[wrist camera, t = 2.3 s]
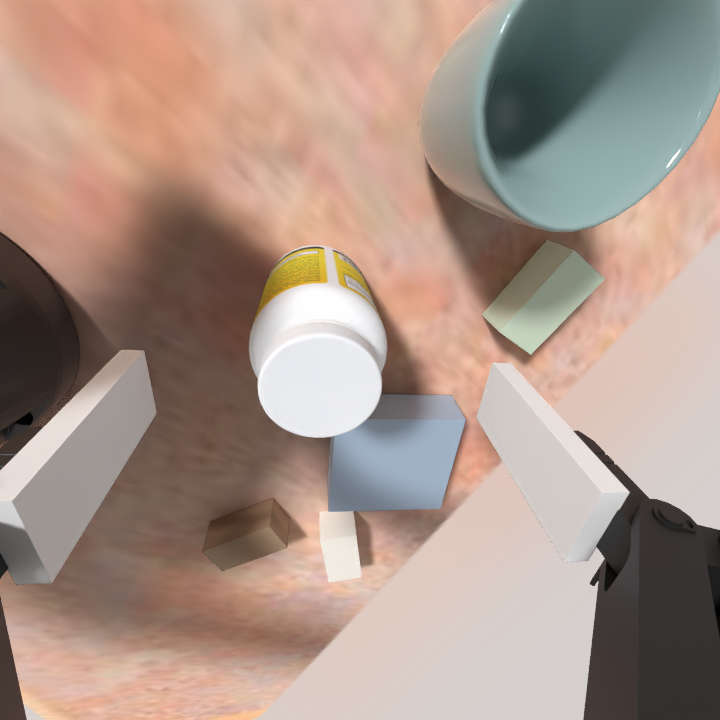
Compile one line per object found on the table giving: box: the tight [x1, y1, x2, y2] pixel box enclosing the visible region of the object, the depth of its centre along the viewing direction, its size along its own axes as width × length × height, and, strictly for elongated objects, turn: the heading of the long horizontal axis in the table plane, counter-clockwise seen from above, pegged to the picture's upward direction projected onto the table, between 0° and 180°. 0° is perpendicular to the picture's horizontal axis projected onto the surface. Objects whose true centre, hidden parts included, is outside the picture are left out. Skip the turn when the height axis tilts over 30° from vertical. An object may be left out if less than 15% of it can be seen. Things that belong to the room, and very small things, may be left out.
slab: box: [327, 394, 466, 512], centre depth 29 cm, size 9×9×3 cm
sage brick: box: [482, 240, 605, 355], centre depth 24 cm, size 6×3×3 cm, turn 145°
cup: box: [418, 0, 720, 232], centre depth 16 cm, size 8×8×10 cm
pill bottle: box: [249, 245, 387, 438], centre depth 19 cm, size 6×6×11 cm
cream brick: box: [320, 511, 362, 583], centre depth 34 cm, size 6×3×3 cm, turn 5°
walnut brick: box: [202, 498, 289, 571], centre depth 32 cm, size 6×3×3 cm, turn 112°
